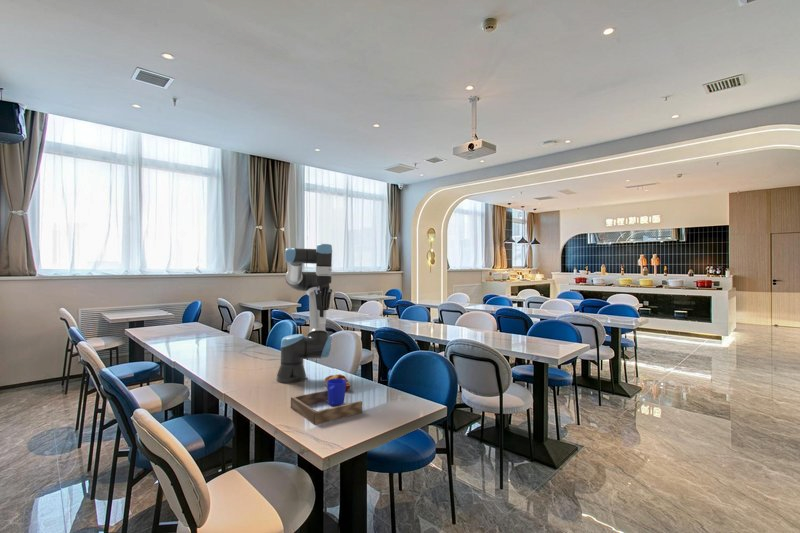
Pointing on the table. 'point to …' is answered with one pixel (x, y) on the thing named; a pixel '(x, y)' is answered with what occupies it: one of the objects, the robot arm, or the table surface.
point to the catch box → (325, 415)
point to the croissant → (338, 378)
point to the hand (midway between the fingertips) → (322, 323)
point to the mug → (336, 391)
